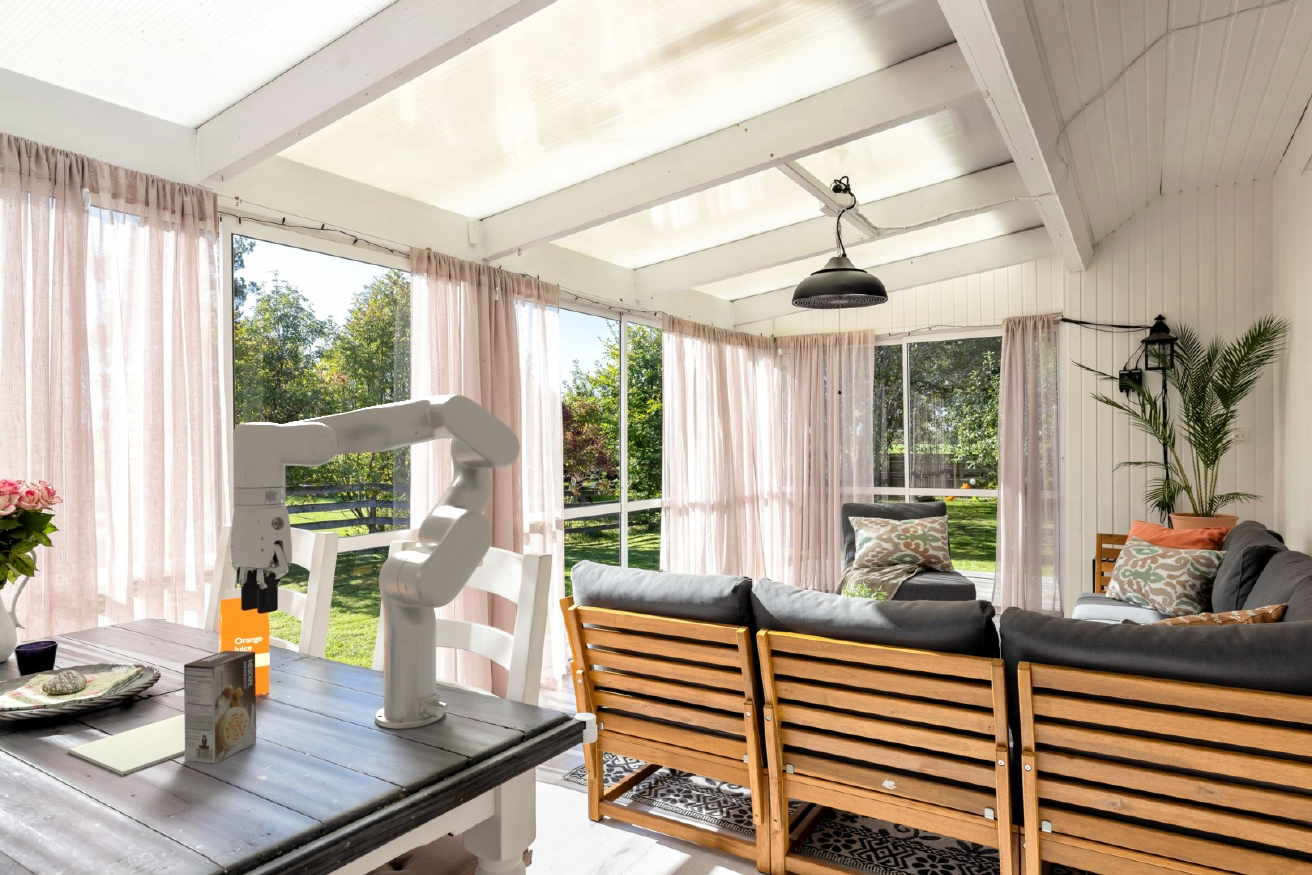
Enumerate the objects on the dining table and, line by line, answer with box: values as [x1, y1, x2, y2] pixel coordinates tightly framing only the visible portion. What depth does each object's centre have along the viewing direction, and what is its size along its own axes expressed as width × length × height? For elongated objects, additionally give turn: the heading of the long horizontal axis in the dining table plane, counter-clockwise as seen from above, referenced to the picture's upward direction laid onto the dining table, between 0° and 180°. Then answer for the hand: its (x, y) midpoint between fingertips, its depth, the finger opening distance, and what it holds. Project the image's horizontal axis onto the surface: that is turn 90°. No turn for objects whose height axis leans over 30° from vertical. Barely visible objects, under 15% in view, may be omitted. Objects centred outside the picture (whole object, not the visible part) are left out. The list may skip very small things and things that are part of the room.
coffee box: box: [183, 650, 257, 765], centre depth 127 cm, size 9×6×16 cm
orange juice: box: [217, 597, 271, 696], centre depth 158 cm, size 8×9×20 cm
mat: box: [67, 713, 258, 776], centre depth 132 cm, size 18×22×1 cm
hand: (259, 609), depth 122 cm, fingers open, 3 cm apart
